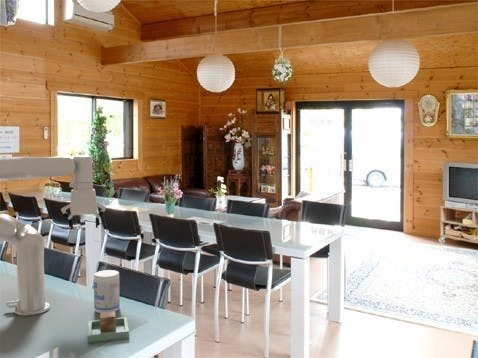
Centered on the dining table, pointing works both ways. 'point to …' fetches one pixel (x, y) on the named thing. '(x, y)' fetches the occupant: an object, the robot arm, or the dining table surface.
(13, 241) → the robot arm
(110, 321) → the walnut block
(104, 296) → the supplement tub
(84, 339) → the dining table surface
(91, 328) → the rest tray
